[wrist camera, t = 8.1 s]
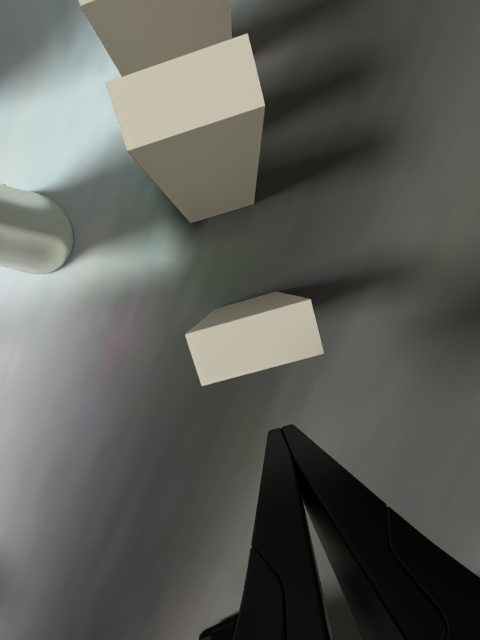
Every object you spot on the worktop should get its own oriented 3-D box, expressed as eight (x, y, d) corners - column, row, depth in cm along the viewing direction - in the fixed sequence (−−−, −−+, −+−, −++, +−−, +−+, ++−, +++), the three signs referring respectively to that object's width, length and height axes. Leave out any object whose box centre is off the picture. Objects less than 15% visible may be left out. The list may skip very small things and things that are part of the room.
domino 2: (253, 204, 18) (265, 105, 8) (190, 223, 18) (127, 150, 8) (245, 173, 18) (247, 33, 8) (182, 193, 18) (105, 82, 8)
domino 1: (283, 318, 19) (324, 353, 9) (223, 334, 19) (201, 386, 10) (276, 291, 19) (310, 299, 9) (215, 308, 19) (185, 334, 9)
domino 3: (237, 141, 17) (227, -50, 7) (172, 161, 18) (80, 5, 8) (229, 108, 17) (207, -134, 7) (163, 130, 17) (54, -74, 7)
